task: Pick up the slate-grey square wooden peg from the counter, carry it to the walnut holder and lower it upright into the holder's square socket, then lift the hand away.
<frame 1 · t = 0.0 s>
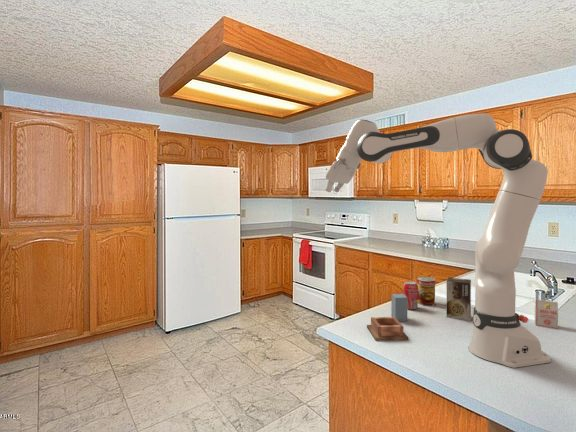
hand: (331, 191, 129), 54 cm above the countertop, tool tilted 30°, fingers open, 8 cm apart
beverage can: (410, 308, 150), on the countertop
coffee box: (458, 317, 138), on the countertop
beige food box: (545, 326, 128), on the countertop
square peg: (399, 318, 137), on the countertop
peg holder: (386, 333, 123), on the countertop
canned food: (425, 303, 156), on the countertop
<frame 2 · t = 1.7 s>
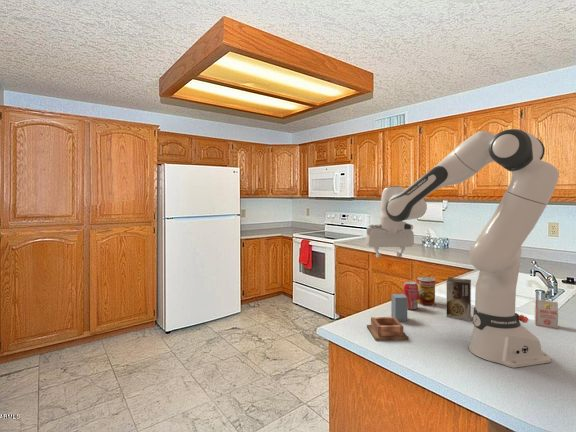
hand: (388, 257, 136), 26 cm above the countertop, tool pointing down, fingers open, 8 cm apart
nothing on the countertop moved.
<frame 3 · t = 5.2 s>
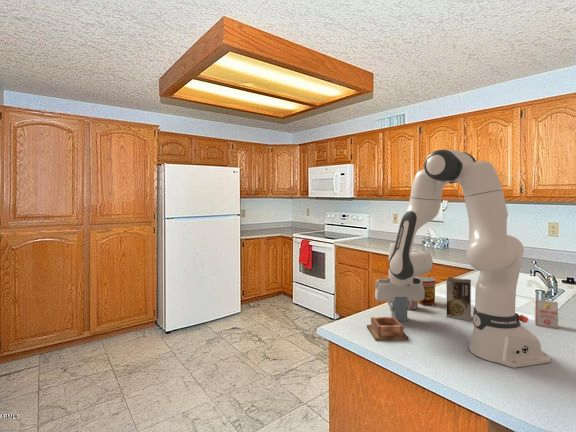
hand: (399, 310, 137), 4 cm above the countertop, tool pointing down, fingers closed on square peg, 5 cm apart
square peg: (399, 318, 137), on the countertop, touching gripper
everything else where it was.
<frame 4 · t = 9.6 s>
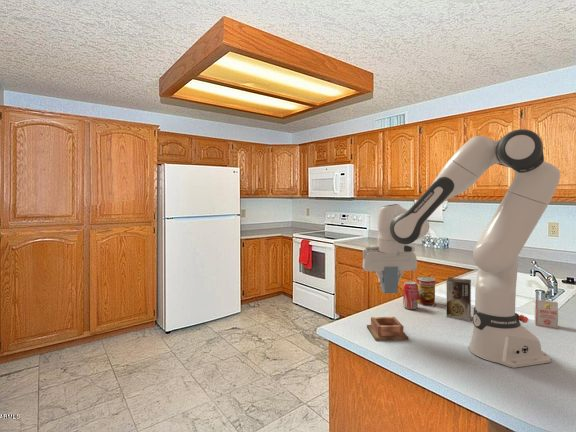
hand: (389, 282, 124), 19 cm above the countertop, tool pointing down, fingers closed on square peg, 5 cm apart
square peg: (389, 291, 124), point 15 cm above the countertop, touching gripper
everything else where it was.
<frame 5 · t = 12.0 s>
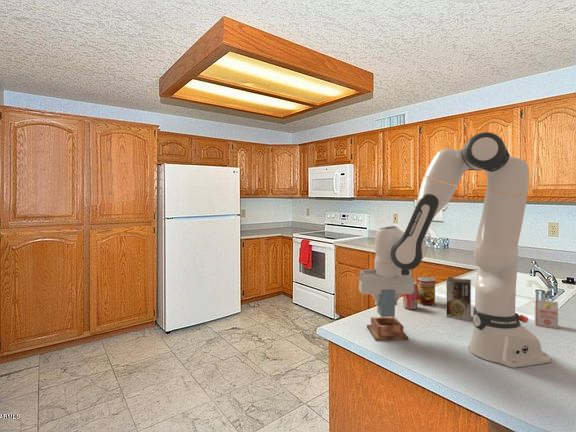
hand: (386, 305, 122), 11 cm above the countertop, tool pointing down, fingers closed on square peg, 5 cm apart
square peg: (385, 314, 122), point 7 cm above the countertop, touching gripper
everything else where it was.
when the fingers open (6 cm above the countertop, at t = 14.0 s): square peg drops 1 cm, resting on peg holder.
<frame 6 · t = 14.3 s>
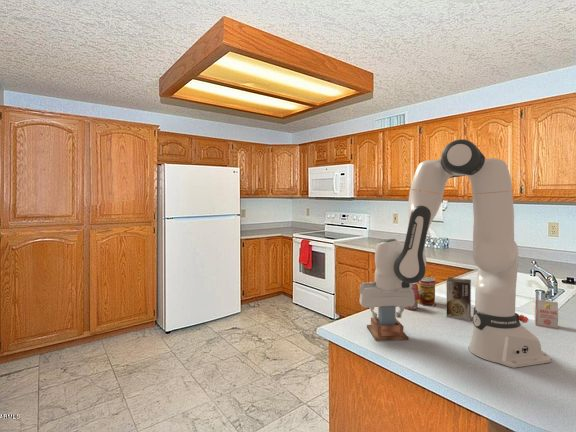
hand: (386, 317, 122), 6 cm above the countertop, tool pointing down, fingers open, 8 cm apart
square peg: (386, 330, 123), point 1 cm above the countertop, touching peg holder
everything else where it was.
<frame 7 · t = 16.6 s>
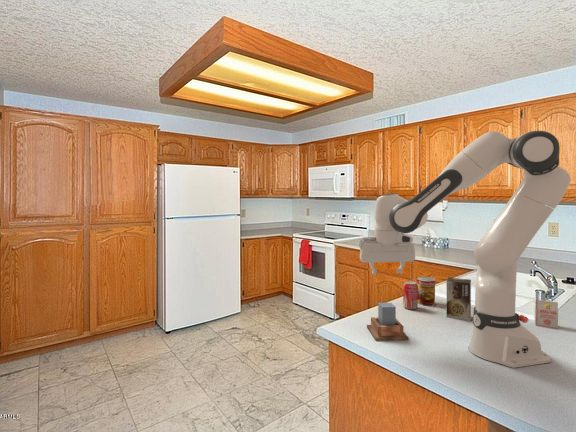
hand: (387, 273, 121), 23 cm above the countertop, tool pointing down, fingers open, 8 cm apart
nothing on the countertop moved.
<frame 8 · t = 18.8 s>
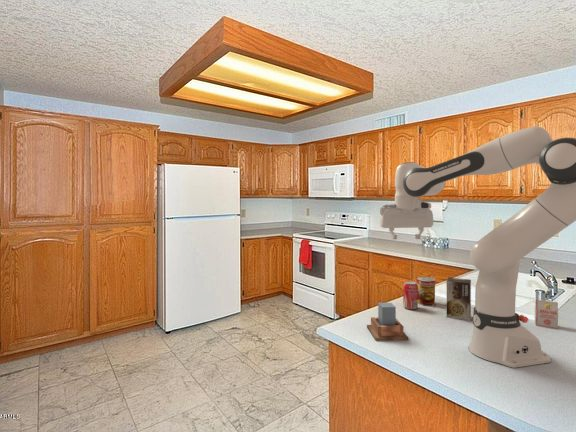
hand: (406, 239, 128), 35 cm above the countertop, tool pointing down, fingers open, 8 cm apart
nothing on the countertop moved.
at the end: square peg 0.1 cm off-centre on the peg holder, point 1.0 cm above the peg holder's base; square peg tilted 0°; the gripper is holding nothing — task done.
